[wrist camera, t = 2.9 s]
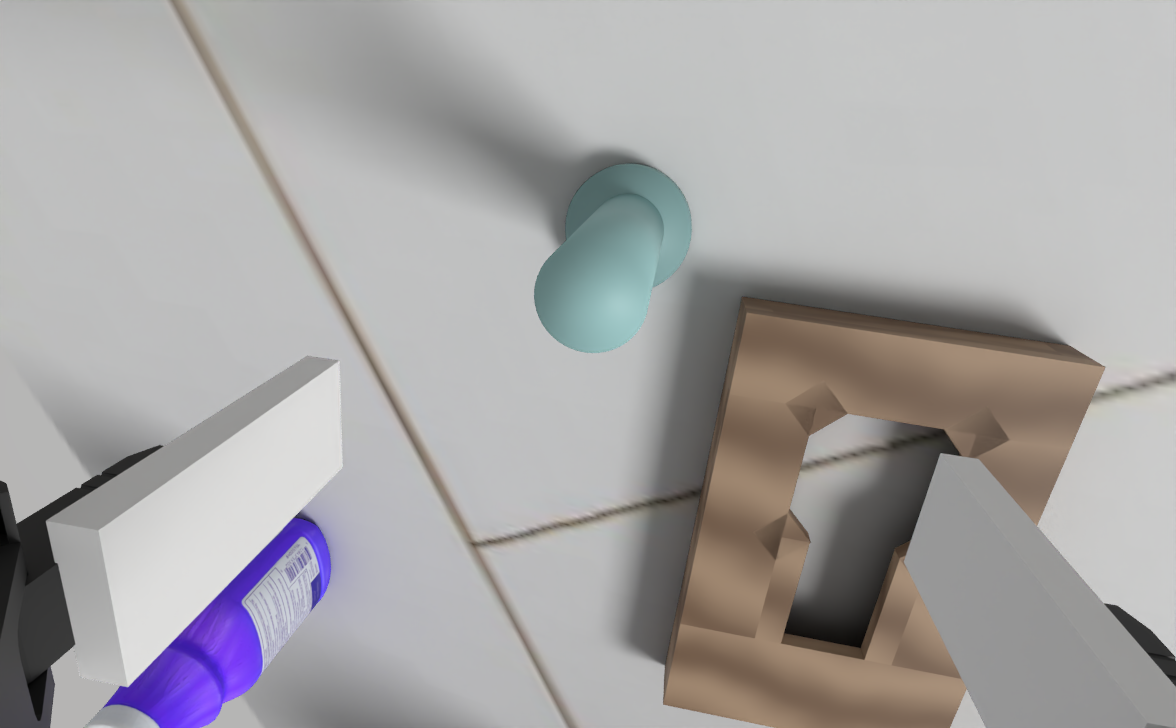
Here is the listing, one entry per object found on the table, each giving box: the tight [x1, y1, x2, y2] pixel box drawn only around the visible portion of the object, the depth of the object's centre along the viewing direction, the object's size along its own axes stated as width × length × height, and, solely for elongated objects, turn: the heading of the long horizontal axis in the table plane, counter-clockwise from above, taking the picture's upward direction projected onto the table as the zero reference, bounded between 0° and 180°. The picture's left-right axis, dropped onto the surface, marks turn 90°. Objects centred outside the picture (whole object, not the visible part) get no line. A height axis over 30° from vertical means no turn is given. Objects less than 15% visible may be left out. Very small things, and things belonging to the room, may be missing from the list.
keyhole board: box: [663, 297, 1105, 728], centre depth 41 cm, size 28×18×3 cm, turn 173°
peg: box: [534, 163, 692, 353], centre depth 30 cm, size 7×7×16 cm
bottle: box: [84, 518, 331, 728], centre depth 41 cm, size 7×6×17 cm
